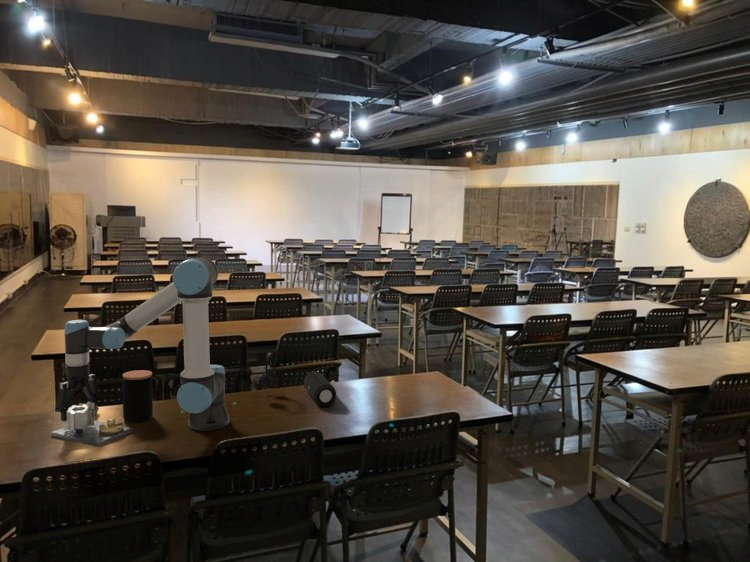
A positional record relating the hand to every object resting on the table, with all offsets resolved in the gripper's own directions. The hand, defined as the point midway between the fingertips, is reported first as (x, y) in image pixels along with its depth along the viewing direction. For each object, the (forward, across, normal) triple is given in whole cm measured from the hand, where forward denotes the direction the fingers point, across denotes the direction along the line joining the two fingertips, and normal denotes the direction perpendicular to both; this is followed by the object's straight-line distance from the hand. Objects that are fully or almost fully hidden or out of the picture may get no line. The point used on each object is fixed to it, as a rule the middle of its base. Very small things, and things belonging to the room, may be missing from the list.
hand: (79, 424), depth 200 cm
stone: (+4, -14, -12) cm, 19 cm away
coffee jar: (+4, -21, +7) cm, 22 cm away
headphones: (+4, -67, +40) cm, 78 cm away
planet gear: (0, 0, 0) cm, 0 cm away
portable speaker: (+4, -74, +59) cm, 95 cm away
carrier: (+4, -2, +4) cm, 6 cm away
